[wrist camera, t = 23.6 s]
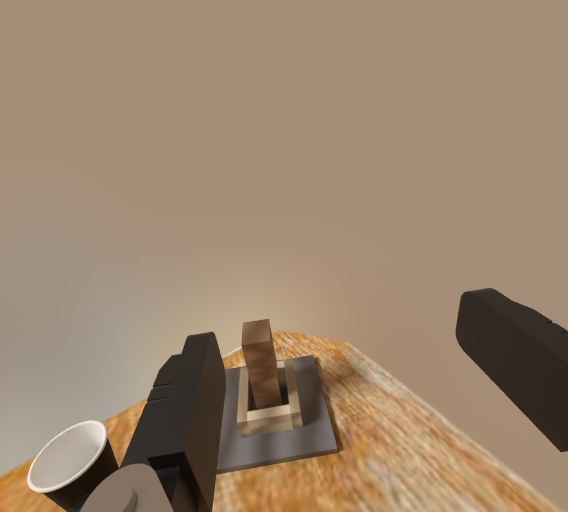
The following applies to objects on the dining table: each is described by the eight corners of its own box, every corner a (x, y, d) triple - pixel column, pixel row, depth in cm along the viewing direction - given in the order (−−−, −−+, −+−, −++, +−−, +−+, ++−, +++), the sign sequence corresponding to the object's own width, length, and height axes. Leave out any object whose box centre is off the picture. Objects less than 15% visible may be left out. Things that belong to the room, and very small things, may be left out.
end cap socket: (210, 475, 39) (202, 455, 37) (223, 373, 55) (218, 356, 53) (337, 452, 40) (336, 431, 38) (313, 358, 56) (311, 341, 54)
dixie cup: (97, 555, 33) (54, 503, 28) (56, 525, 36) (11, 475, 31) (149, 481, 39) (121, 430, 35) (111, 461, 42) (80, 412, 38)
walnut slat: (258, 418, 45) (241, 345, 39) (258, 391, 49) (243, 323, 43) (283, 413, 45) (270, 340, 39) (281, 387, 49) (268, 318, 43)
